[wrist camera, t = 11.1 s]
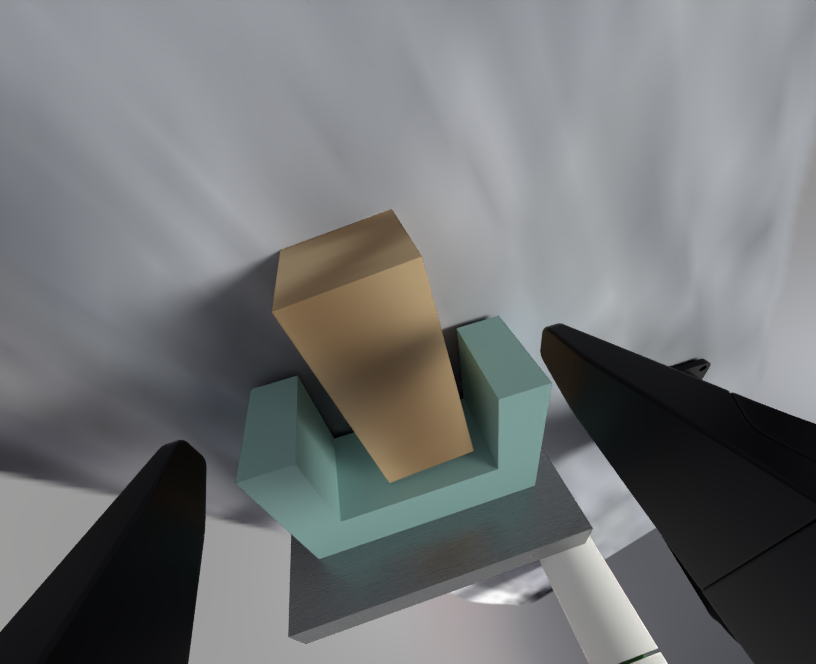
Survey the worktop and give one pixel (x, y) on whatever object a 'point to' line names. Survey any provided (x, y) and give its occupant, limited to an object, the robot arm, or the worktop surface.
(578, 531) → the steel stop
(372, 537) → the slot block
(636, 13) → the worktop surface
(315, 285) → the oak peg
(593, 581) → the cylindrical container
